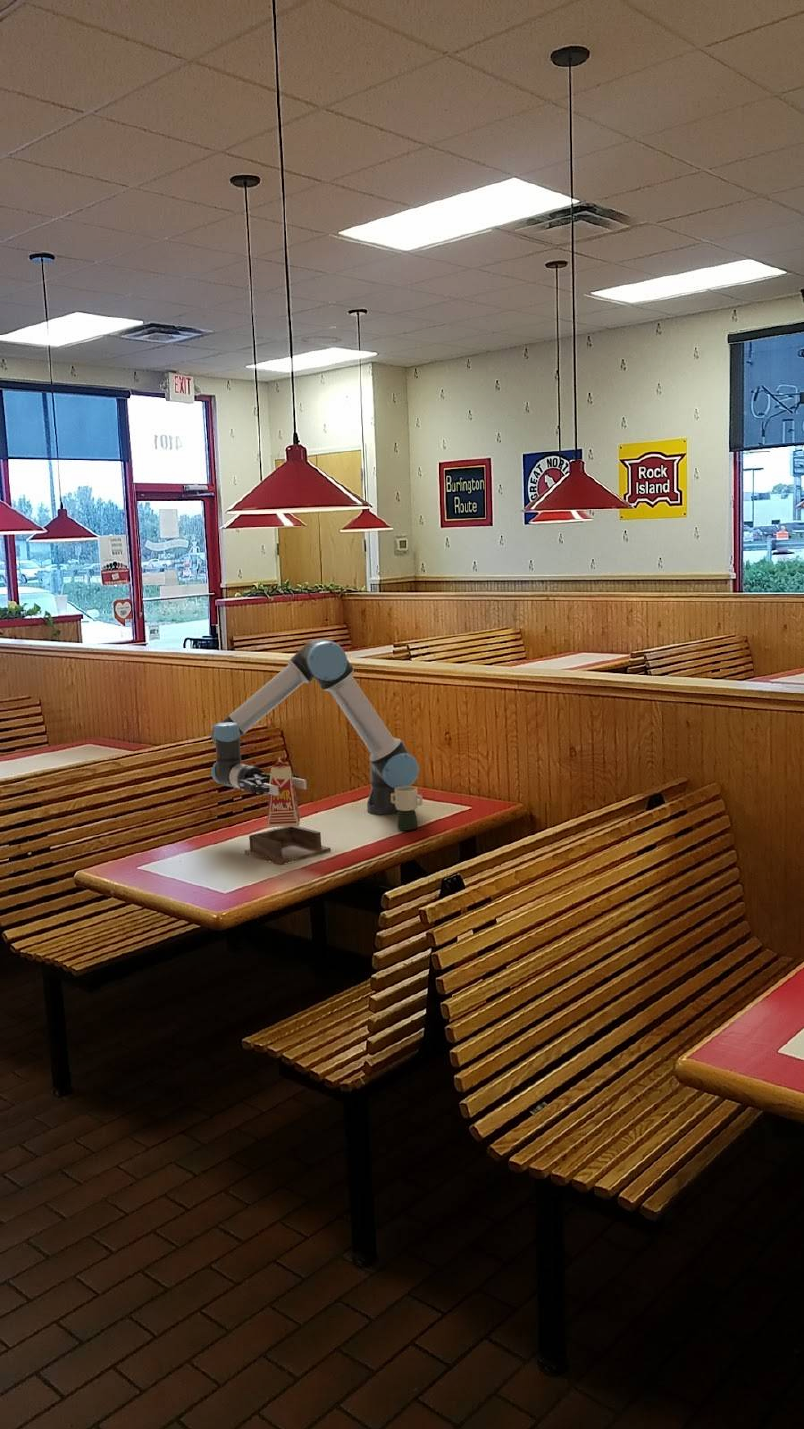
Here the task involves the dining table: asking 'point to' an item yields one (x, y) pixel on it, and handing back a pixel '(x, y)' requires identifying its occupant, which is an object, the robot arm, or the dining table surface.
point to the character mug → (406, 806)
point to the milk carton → (283, 798)
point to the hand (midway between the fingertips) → (291, 787)
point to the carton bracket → (286, 844)
